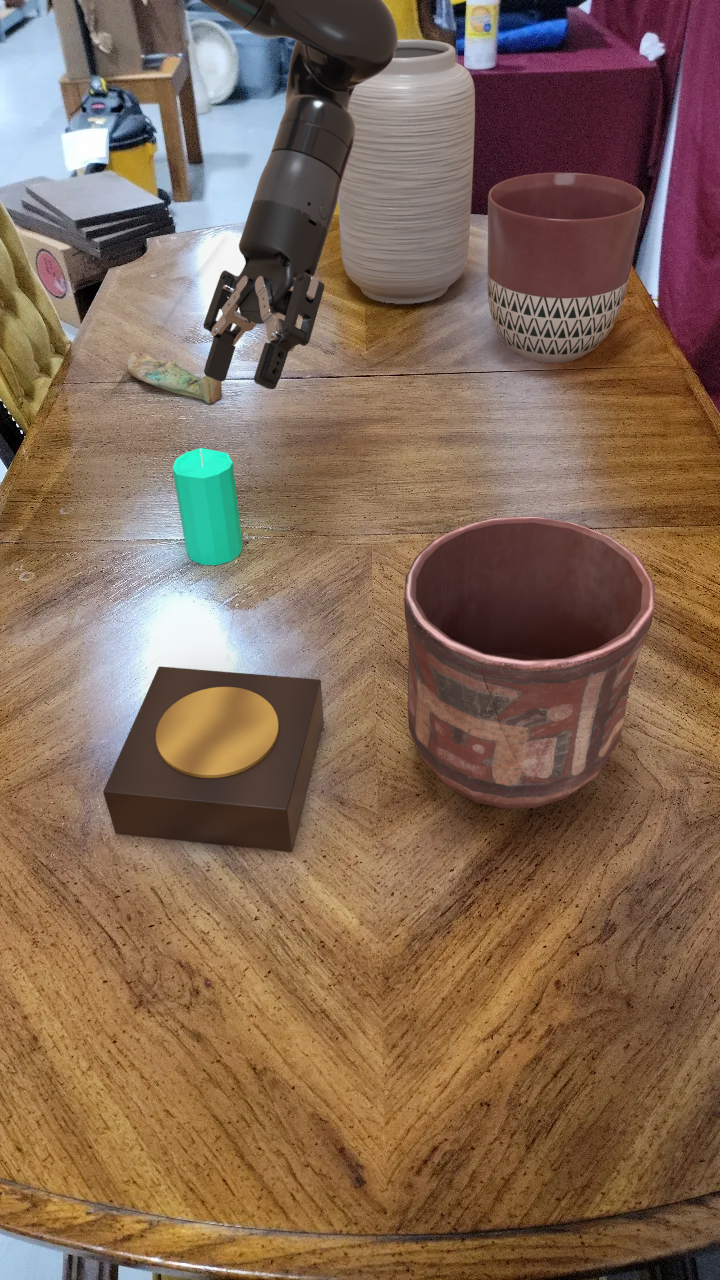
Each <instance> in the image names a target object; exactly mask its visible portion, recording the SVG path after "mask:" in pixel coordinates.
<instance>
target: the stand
mask: <svg viewBox="0 0 720 1280" xmlns="http://www.w3.org/2000/svg"><path fill="white" fill-rule="evenodd" d="M322 690H323V689H322V680H321V679H319V678H318V679H317V678H307V677H294V676H282V675H281V676H280V675H269V674H257V673H246V672H244V673H243V672H232V671H222V670H221V671H219V670H210V669H209V670H207V669H197V668H196V669H195V668H185V667H171V666H157V670H156V672H155V674H154V676H153V678H152V680H151V682H150V685H149V687H148V689H147V692H146V694H145V695H144V698H143V701H142V702H141V705H140V707H139V710H138V712H137V715H135V716H136V717H135V719H134V721H133V723H132V725H131V728H130V730H129V732H128V734H127V737H126V739H125V741H124V743H123V746H122V748H121V750H120V753H119V755H118V757H117V759H116V762H115V763H114V766H113V768H112V771H111V773H110V775H109V776H108V780H107V782H106V783H105V786H104V788H103V791H102V793H103V796H104V800H105V803H106V806H107V810H108V813H109V817H110V820H111V824H112V826H113V829H114V833H115V834H116V835H126V836H134V837H145V838H153V839H165V840H172V841H173V840H174V841H182V842H190V843H191V842H193V843H203V844H212V845H220V846H221V845H222V846H230V847H239V848H240V847H241V848H248V849H257V850H258V849H259V850H269V851H277V852H285V853H292V852H293V849H294V846H295V841H296V836H297V832H298V829H299V824H300V821H301V817H302V812H303V808H304V805H305V804H304V803H305V800H306V796H307V792H308V788H309V783H310V779H311V775H312V771H313V768H314V767H313V766H314V763H315V759H316V755H317V751H318V746H319V743H320V738H321V734H322V730H323V726H324V722H325V721H324V708H323V706H324V705H323V694H322V693H323V692H322Z"/></svg>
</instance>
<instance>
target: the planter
mask: <svg viewBox="0 0 720 1280" xmlns="http://www.w3.org/2000/svg"><path fill="white" fill-rule="evenodd" d="M645 201H646V198H645V195H644V193H643V191H641V190H640V189H639V187H637V186H635V185H632V184H630V183H628V182H625V181H623V180H620V179H617V178H613V177H609V176H604V175H597V174H591V173H584V172H583V173H582V172H541V173H533V174H525V175H520V176H516V177H511V178H508V179H506V180H503V181H500V182H498V183H497V184H495V185H494V186H492V187H491V188H490V190H489V191H488V195H487V301H488V308H489V312H490V313H489V314H490V316H491V320H492V324H493V327H494V329H495V330H496V332H497V334H498V336H499V337H500V338H501V340H502V342H504V343H505V345H506V346H507V347H508V348H509V349H510V350H512V351H513V352H514V353H516V354H517V355H518V356H520V357H522V358H523V359H526V360H529V361H532V362H535V363H539V364H544V365H545V364H546V365H547V364H548V365H558V364H565V363H569V362H573V361H576V360H578V359H580V358H582V357H584V356H586V355H588V354H589V353H590V352H592V351H594V350H595V349H596V348H597V347H598V346H599V345H601V343H602V342H603V341H605V339H607V337H608V335H609V334H610V333H611V331H612V330H613V328H614V327H615V324H616V322H617V320H618V318H619V315H620V312H621V310H622V307H623V304H624V300H625V296H626V292H627V287H628V284H629V278H630V274H631V269H632V265H633V260H634V254H635V250H636V244H637V240H638V235H639V231H640V228H641V227H640V226H641V222H642V217H643V212H644V206H645Z"/></svg>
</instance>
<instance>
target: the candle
mask: <svg viewBox="0 0 720 1280" xmlns="http://www.w3.org/2000/svg"><path fill="white" fill-rule="evenodd" d="M172 474H173V480H174V486H175V492H176V499H177V504H178V509H179V516H180V521H181V528H182V533H183V539H184V545H185V551H186V554H187V556H188V557H189V559H190V560H191V561H192V562H194V563H197V564H199V565H201V566H219V565H222V564H226V563H229V562H232V561H233V560H234V559H236V558H237V557H239V556H240V555H241V554H242V551H243V546H244V543H243V535H242V526H241V518H240V510H239V502H238V501H239V500H238V493H237V485H236V478H235V469H234V462H233V460H232V459H231V457H230V455H229V453H228V452H224V451H219V450H214V449H208V448H203V447H199V448H196V449H192V450H189V451H186V452H184V453H183V454H181V455H180V456H178V457H177V458H175V460H174V463H173V466H172Z"/></svg>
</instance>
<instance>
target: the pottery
mask: <svg viewBox="0 0 720 1280" xmlns="http://www.w3.org/2000/svg"><path fill="white" fill-rule="evenodd" d="M404 579H405V580H404V594H403V595H404V597H403V604H404V619H405V627H406V633H407V635H406V636H407V644H408V645H407V647H408V661H407V662H408V663H407V664H408V665H407V667H408V669H407V670H408V671H407V674H408V675H407V719H408V720H407V722H408V730H409V733H410V735H411V739H412V740H413V742H414V745H415V747H416V749H417V751H418V754H419V755H420V758H421V759H422V760H423V762H424V763H425V765H426V766H427V767H428V768H429V769H430V770H431V772H432V773H433V774H434V775H435V776H436V778H438V779H439V780H440V781H441V782H442V783H443V784H444V785H445V787H446V788H448V789H449V790H452V791H453V792H455V793H457V794H459V795H460V796H463V797H464V798H466V799H468V800H470V801H472V802H474V803H475V804H481V805H485V806H489V807H494V808H499V809H503V810H506V809H507V810H508V809H511V810H512V809H536V808H539V807H543V806H546V805H549V804H553V803H556V802H560V801H561V800H565V799H566V798H568V797H569V796H571V795H572V794H574V793H575V792H576V791H578V790H580V789H581V788H583V787H584V786H585V785H587V784H588V783H589V782H591V781H592V780H593V779H595V778H596V777H597V776H598V774H600V771H601V770H602V769H603V767H604V765H605V764H606V763H607V761H608V760H609V758H610V756H611V755H612V753H613V752H614V750H615V749H616V748H617V746H618V744H619V742H620V739H621V736H622V733H623V727H624V721H625V715H626V709H627V703H628V696H629V690H630V687H631V684H632V680H633V676H634V673H635V670H636V666H637V663H638V659H639V656H640V654H641V652H642V648H643V646H644V644H645V641H646V638H647V637H648V633H649V631H650V629H651V627H652V623H653V622H652V621H653V617H654V613H655V593H656V584H655V582H654V581H653V578H652V577H651V576H650V574H649V572H648V571H647V569H646V567H645V566H644V564H643V562H642V560H641V559H640V557H639V556H637V555H636V554H635V553H634V552H632V551H631V550H630V549H628V548H627V547H625V546H624V545H623V544H621V543H620V542H619V541H618V540H616V539H615V538H613V537H612V536H610V535H607V534H605V533H603V532H599V531H597V530H594V529H592V528H589V527H586V526H584V525H581V524H578V523H575V522H572V521H571V522H570V521H565V520H558V519H552V518H546V517H540V516H534V515H532V516H531V515H529V516H513V517H512V516H510V517H507V516H506V517H493V518H488V519H485V520H481V521H480V520H479V521H476V522H471V523H468V524H464V525H460V526H458V527H456V528H454V529H452V530H450V531H449V532H446V533H445V534H443V535H441V536H439V537H437V538H435V539H433V540H431V541H430V542H429V544H427V546H425V548H423V549H422V550H421V551H420V552H419V553H418V554H417V555H416V556H415V557H414V559H413V561H412V563H411V565H410V567H409V570H408V572H407V574H406V575H405V578H404Z"/></svg>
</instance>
